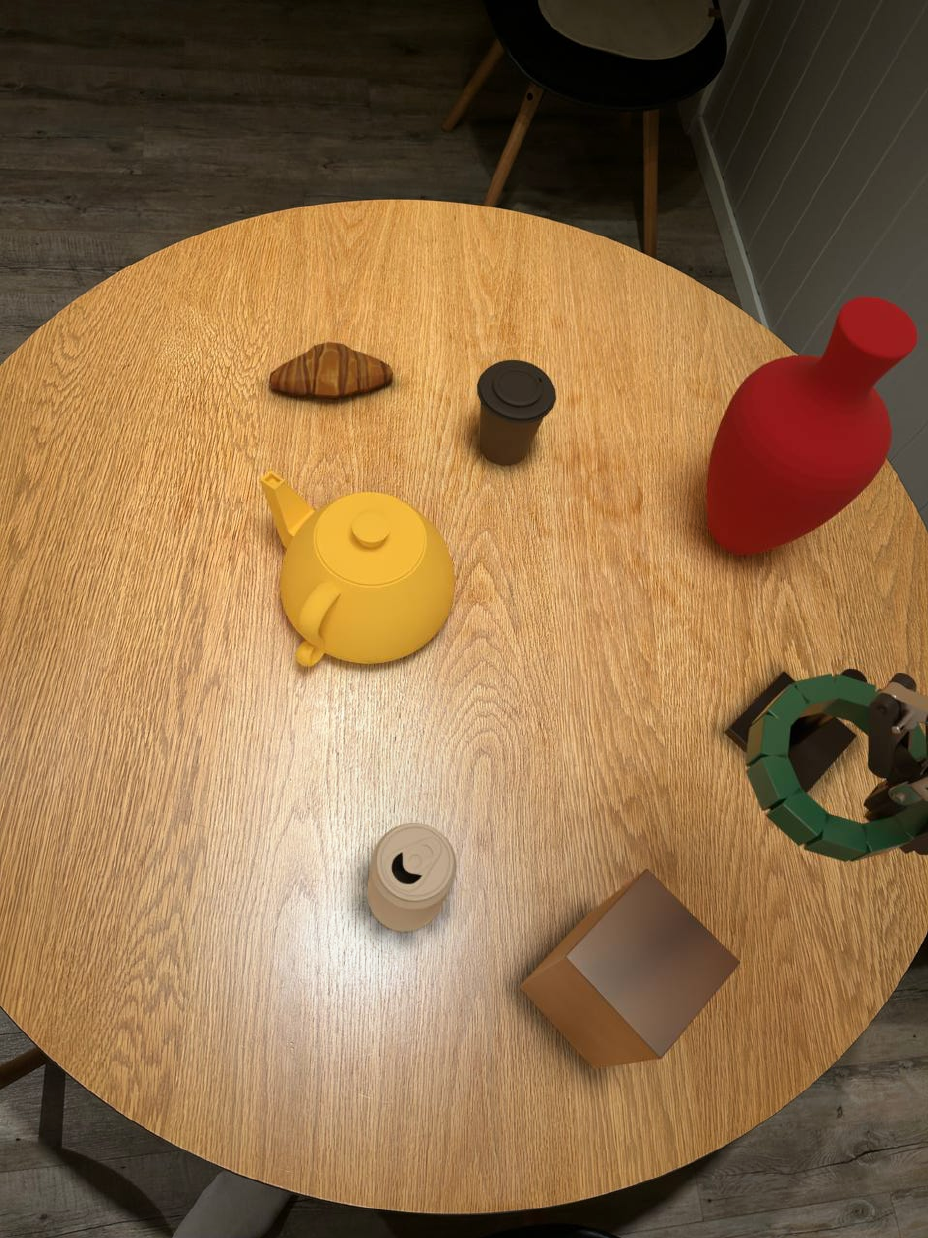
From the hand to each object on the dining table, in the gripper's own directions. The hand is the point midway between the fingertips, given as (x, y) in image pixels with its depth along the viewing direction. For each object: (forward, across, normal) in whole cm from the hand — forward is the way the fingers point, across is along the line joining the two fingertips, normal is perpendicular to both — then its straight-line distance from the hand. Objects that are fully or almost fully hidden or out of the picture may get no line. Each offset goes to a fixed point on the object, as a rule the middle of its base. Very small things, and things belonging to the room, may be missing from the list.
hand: (892, 824), depth 54 cm
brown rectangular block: (+30, -4, -12) cm, 33 cm away
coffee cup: (+31, -47, +23) cm, 60 cm away
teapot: (+31, -44, -2) cm, 54 cm away
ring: (0, -4, 0) cm, 4 cm away
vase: (+31, -23, +34) cm, 51 cm away
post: (+30, -5, +19) cm, 36 cm away
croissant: (+31, -65, +14) cm, 73 cm away
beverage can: (+30, -20, -18) cm, 40 cm away
